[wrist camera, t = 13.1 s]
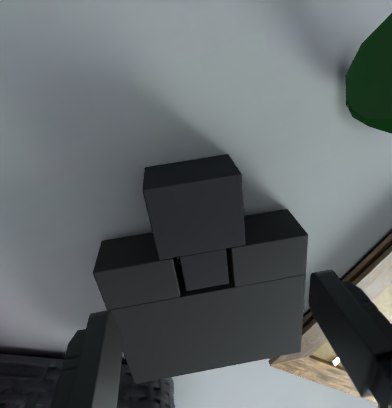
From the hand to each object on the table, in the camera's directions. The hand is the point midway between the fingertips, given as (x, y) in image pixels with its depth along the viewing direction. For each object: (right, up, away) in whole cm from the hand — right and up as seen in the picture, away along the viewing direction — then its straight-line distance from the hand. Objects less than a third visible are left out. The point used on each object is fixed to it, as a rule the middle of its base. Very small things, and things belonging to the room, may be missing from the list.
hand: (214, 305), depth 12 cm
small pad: (-1, +3, +10) cm, 10 cm away
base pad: (0, -3, +13) cm, 13 cm away
